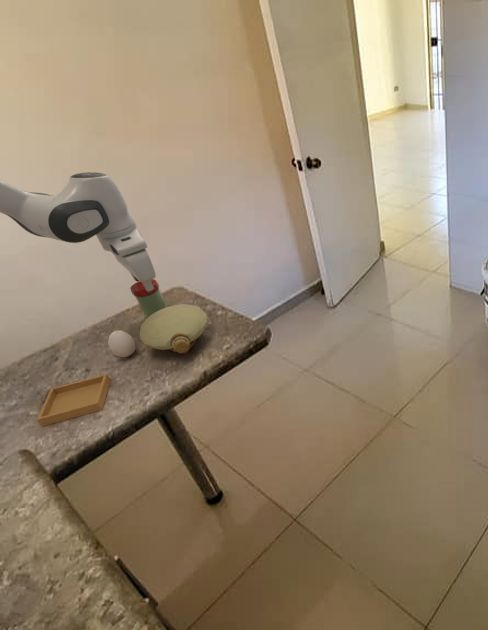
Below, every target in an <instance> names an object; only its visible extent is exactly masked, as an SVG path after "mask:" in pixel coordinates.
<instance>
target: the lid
mask: <svg viewBox="0 0 488 630" xmlns="http://www.w3.org/2000/svg"><path fill="white" fill-rule="evenodd" d="M151 282H152V285H153V287H154V289H153V290H152V291H149V292H147V291H146V290H145V289H144V287H143V284H142V282H140V281H138V282H137V281H136V282H135V283H133V284H132V285H131V286H130V287H129V289H130V292H131V293H132V295H133V296H134V297H135V296H136V297H143V296H147V295H150V294H152V293H154V292H156V291H157V290H158V289H160V284H159V282H158V281H157V280H156V279H155V278H154V279H152V280H151ZM136 297H135V298H136Z"/></svg>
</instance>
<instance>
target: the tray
mask: <svg viewBox="0 0 488 630" xmlns="http://www.w3.org/2000/svg"><path fill="white" fill-rule="evenodd" d="M111 381H112V379H111V378H110V377H109V374H107V373H104V374H100V375H97V376H93V377H89V378H85V379H82V380H77V381H73V382H69V383H66V384H63V385H59V386H55V387H51V388H50V390H49V392H48V394H47V396H46V398H45V401H44V403H43V405H42V407H41V409H40V411H39V413H38V416H37V418H36V421H37V422H38V424H39V425H40V426H41V427H43V428H44V427H46V426H49V425H53V424H56V423H57V424H58V423H60V422H64V421H68V420H71V419H74V418H78V417H81V416H86V415H88V414H92V413H95V412H98V411H102V410H103V408H104V405H105V401H106V398H107V395H108V392H109V388H110V384H111Z"/></svg>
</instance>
